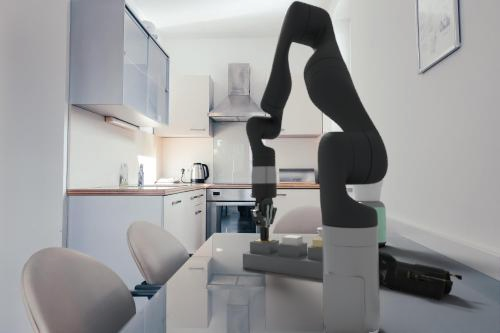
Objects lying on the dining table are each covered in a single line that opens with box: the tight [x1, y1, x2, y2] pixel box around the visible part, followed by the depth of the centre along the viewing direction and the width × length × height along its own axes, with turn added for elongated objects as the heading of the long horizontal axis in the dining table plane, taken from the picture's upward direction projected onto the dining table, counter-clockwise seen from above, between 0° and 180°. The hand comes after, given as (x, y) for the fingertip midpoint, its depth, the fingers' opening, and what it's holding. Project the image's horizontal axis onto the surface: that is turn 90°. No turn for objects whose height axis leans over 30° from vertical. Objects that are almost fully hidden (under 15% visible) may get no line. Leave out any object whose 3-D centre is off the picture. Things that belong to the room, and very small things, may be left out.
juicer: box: [352, 178, 388, 247], centre depth 131 cm, size 19×13×35 cm
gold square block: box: [254, 238, 275, 243], centre depth 101 cm, size 4×4×3 cm
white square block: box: [281, 234, 304, 246], centre depth 97 cm, size 4×4×3 cm
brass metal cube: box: [312, 236, 322, 248], centre depth 92 cm, size 4×4×3 cm
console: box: [242, 239, 323, 280], centre depth 97 cm, size 12×26×7 cm, turn 60°
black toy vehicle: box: [378, 250, 463, 301], centre depth 79 cm, size 7×25×8 cm, turn 43°
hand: (264, 240), depth 101 cm, fingers closed
